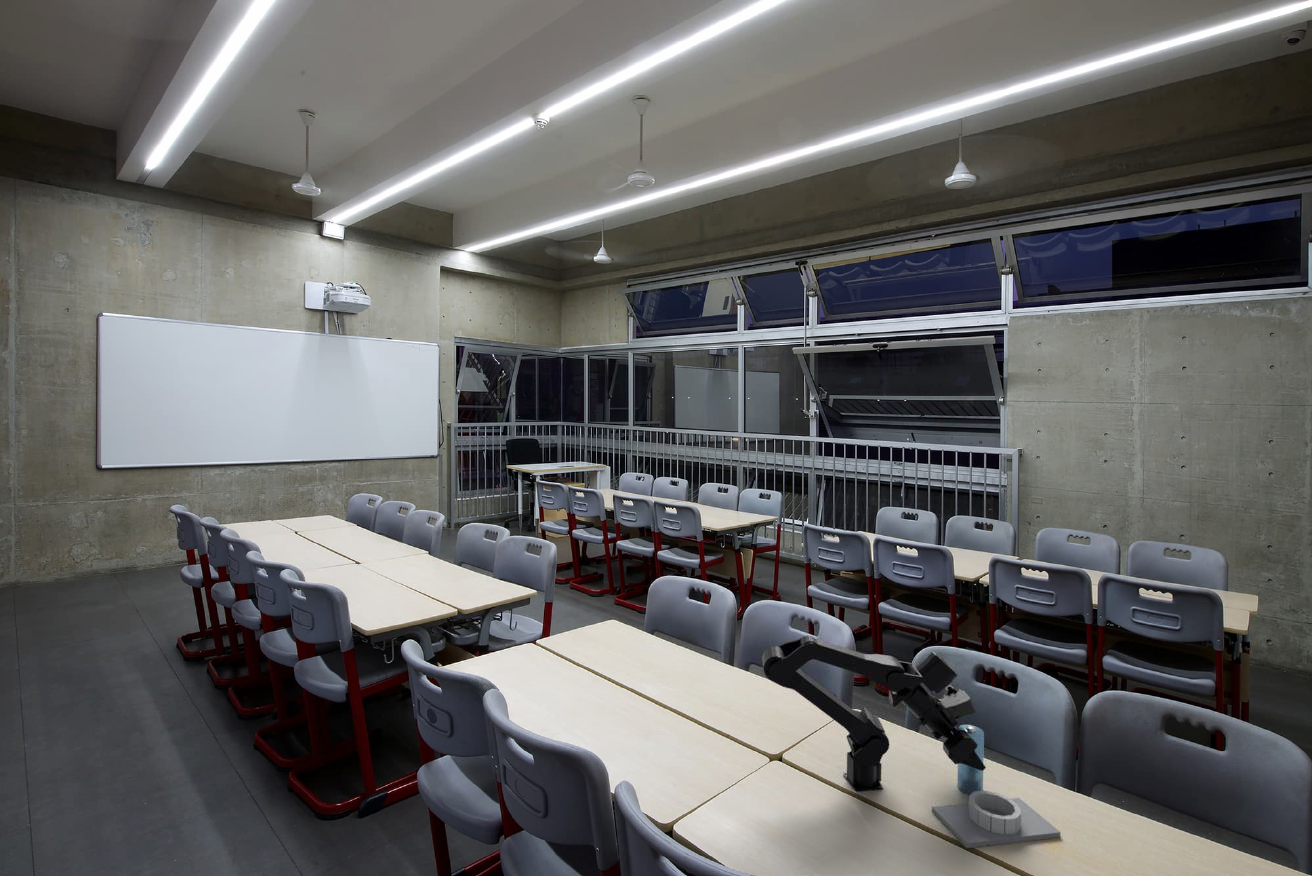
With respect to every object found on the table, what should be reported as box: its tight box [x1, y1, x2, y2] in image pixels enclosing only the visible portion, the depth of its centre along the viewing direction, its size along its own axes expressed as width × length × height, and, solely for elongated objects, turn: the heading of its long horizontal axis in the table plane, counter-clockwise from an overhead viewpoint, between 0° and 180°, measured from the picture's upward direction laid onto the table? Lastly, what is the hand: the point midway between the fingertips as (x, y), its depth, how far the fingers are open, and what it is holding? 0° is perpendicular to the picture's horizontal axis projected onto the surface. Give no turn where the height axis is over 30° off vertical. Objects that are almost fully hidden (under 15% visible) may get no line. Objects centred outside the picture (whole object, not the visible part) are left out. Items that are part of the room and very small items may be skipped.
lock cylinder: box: [956, 724, 985, 796], centre depth 135 cm, size 5×5×14 cm
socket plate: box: [931, 790, 1061, 849], centre depth 124 cm, size 20×11×4 cm, turn 99°
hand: (975, 757), depth 135 cm, fingers open, 9 cm apart
